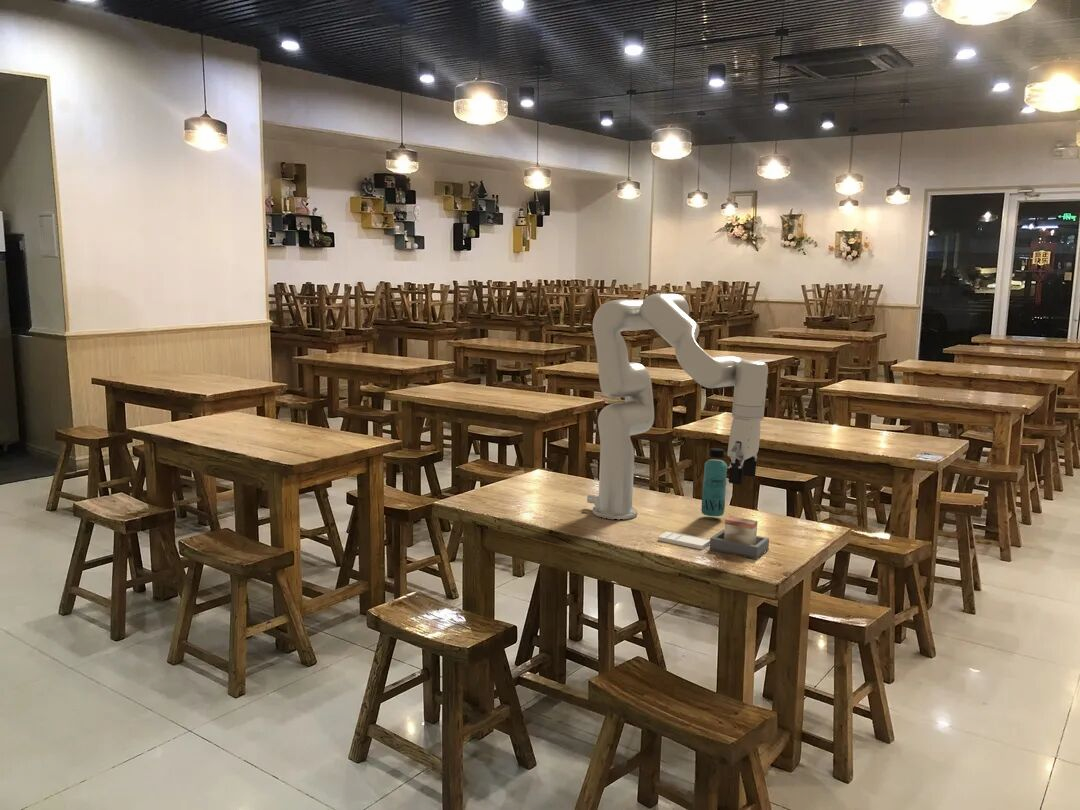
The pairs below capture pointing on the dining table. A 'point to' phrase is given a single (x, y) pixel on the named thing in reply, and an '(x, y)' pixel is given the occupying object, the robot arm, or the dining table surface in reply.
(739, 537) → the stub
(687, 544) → the cream slab
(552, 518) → the dining table surface
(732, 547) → the tray
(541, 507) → the dining table surface
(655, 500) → the dining table surface
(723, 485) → the beverage bottle
